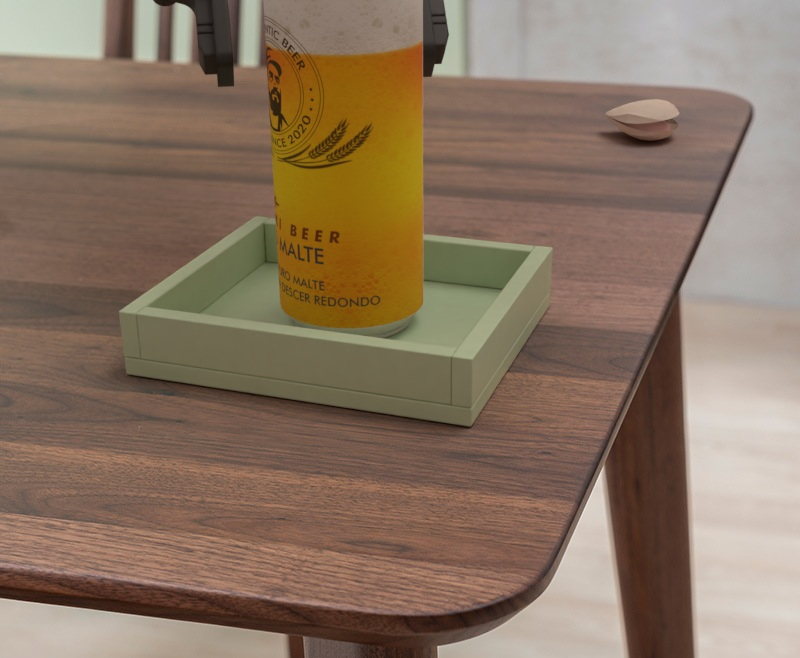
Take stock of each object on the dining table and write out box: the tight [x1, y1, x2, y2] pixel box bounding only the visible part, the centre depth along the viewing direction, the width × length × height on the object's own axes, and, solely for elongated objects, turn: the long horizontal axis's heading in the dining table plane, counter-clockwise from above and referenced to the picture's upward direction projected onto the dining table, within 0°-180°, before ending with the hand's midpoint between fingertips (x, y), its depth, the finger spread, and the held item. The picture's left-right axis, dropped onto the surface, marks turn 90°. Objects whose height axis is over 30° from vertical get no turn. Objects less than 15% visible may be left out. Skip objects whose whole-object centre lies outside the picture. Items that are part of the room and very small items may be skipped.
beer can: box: [262, 0, 424, 338], centre depth 50 cm, size 6×6×15 cm
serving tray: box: [118, 215, 554, 428], centre depth 53 cm, size 15×13×3 cm
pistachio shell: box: [605, 98, 680, 142], centre depth 83 cm, size 4×5×2 cm
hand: (326, 72), depth 53 cm, fingers open, 8 cm apart
